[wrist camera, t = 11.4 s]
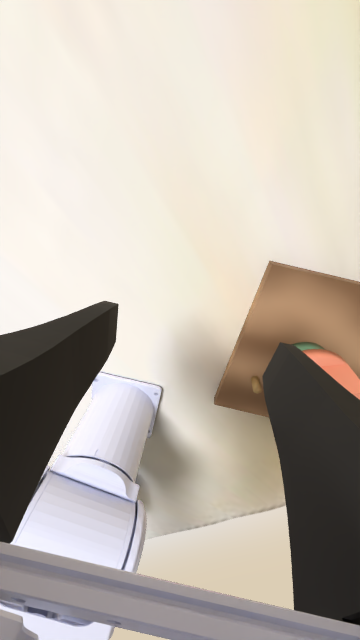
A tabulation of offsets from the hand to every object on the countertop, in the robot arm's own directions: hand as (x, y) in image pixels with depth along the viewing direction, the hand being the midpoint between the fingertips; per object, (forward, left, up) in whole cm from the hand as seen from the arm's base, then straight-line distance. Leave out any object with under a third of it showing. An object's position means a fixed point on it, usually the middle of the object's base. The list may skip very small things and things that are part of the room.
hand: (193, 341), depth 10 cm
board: (-6, -11, -10) cm, 16 cm away
